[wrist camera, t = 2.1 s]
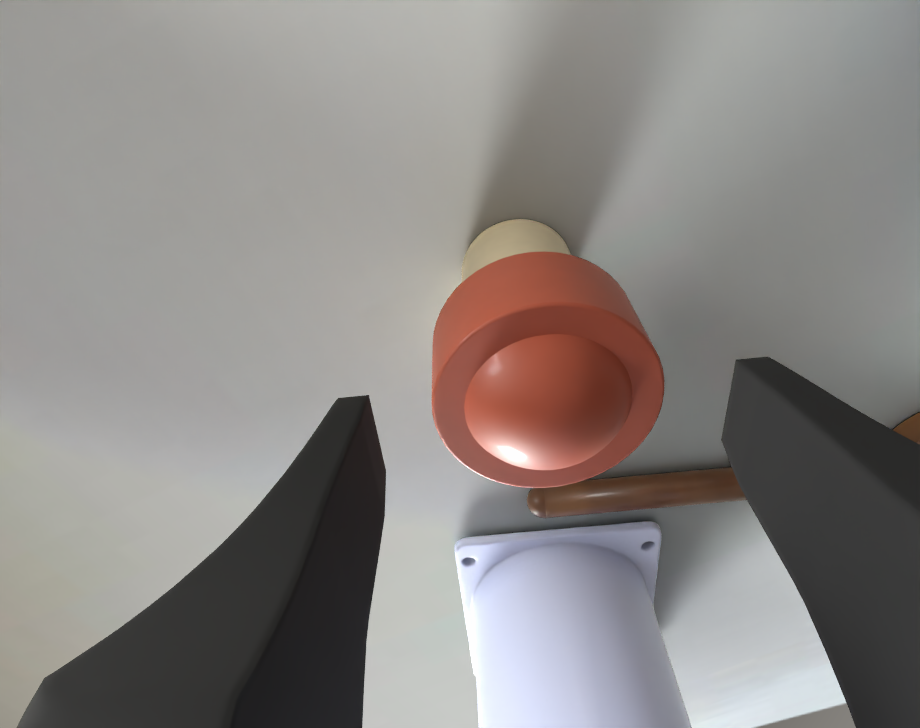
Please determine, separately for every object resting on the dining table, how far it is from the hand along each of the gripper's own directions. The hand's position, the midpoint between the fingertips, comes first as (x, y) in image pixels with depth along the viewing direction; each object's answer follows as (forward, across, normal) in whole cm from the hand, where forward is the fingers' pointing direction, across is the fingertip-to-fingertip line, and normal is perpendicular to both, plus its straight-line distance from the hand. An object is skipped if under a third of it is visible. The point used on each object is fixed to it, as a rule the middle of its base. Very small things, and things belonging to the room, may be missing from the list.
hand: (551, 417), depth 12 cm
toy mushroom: (+7, 0, 0) cm, 7 cm away
